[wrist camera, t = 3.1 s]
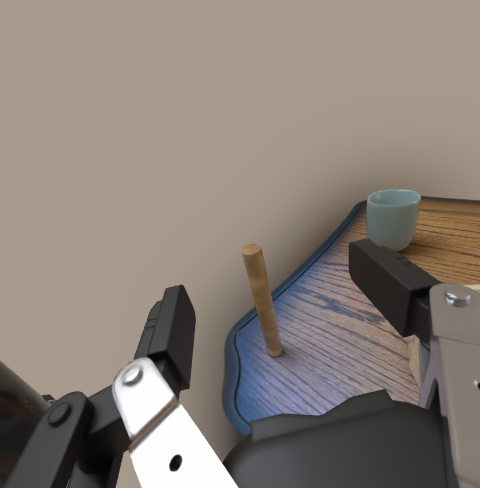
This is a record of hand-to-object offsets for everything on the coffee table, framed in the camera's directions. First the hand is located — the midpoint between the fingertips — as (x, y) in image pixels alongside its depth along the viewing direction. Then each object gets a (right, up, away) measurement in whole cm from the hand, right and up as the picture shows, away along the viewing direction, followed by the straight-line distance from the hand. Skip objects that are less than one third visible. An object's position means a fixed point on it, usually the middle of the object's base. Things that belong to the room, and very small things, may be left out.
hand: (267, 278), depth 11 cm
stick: (+3, -12, +20) cm, 23 cm away
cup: (+27, +1, +33) cm, 43 cm away
